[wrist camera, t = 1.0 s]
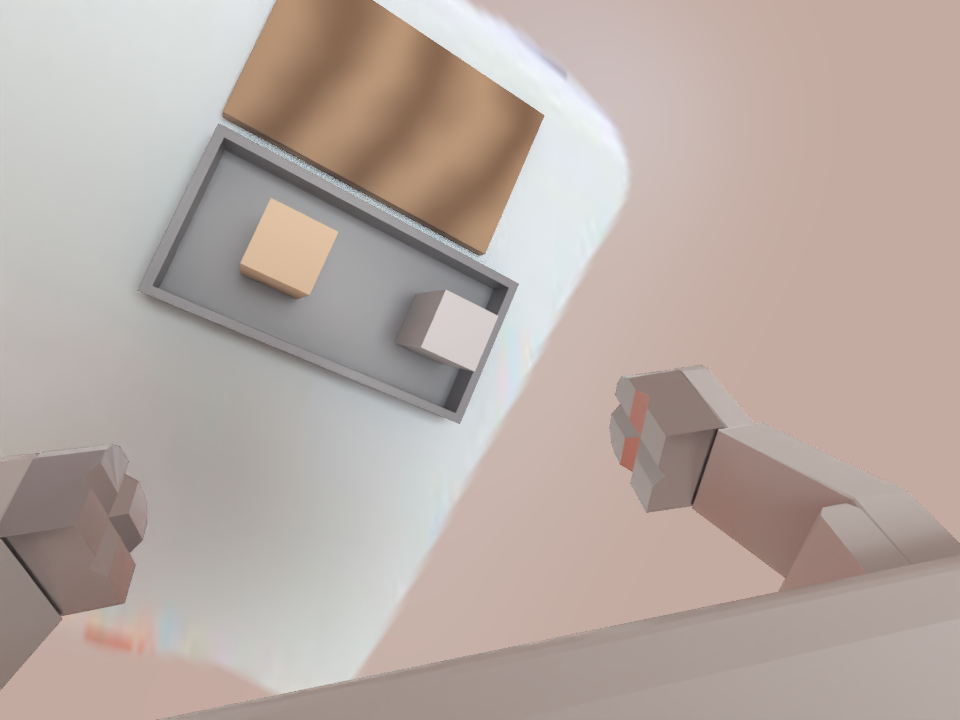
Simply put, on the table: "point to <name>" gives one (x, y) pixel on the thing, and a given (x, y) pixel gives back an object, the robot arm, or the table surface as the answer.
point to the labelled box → (287, 250)
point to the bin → (340, 285)
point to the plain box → (447, 329)
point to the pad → (386, 114)
